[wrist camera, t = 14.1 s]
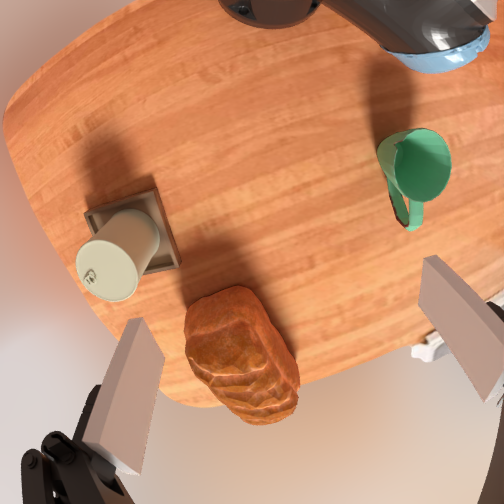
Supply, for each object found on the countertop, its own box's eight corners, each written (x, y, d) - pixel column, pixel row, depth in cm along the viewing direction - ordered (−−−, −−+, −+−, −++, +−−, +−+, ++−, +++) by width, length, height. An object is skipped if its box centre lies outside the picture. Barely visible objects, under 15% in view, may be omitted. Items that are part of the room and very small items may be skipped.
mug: (361, 121, 38) (393, 126, 29) (415, 124, 38) (453, 131, 29) (361, 213, 44) (388, 239, 35) (412, 210, 44) (444, 233, 35)
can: (97, 224, 43) (61, 258, 32) (140, 198, 41) (109, 228, 30) (126, 269, 46) (100, 312, 36) (170, 248, 45) (151, 290, 34)
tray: (89, 209, 42) (83, 213, 40) (156, 187, 41) (153, 191, 39) (116, 275, 48) (112, 281, 46) (181, 261, 47) (179, 267, 45)
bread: (249, 275, 49) (252, 340, 35) (302, 367, 60) (314, 426, 46) (179, 304, 51) (162, 369, 37) (244, 386, 62) (246, 443, 48)
